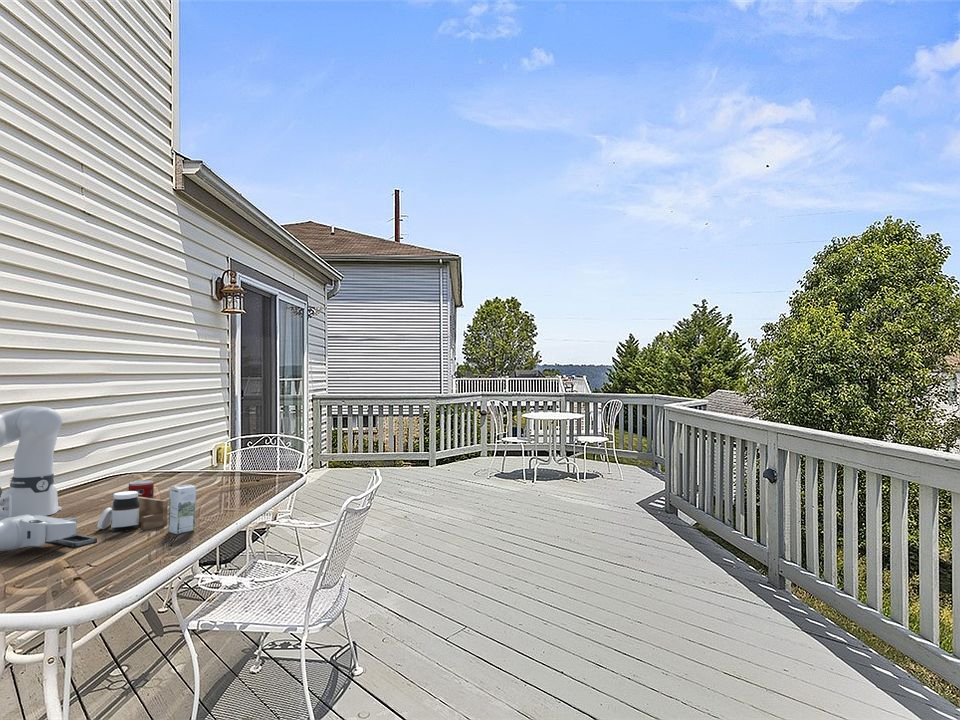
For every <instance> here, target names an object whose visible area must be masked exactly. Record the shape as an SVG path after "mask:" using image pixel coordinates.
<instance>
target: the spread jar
mask: <svg viewBox="0 0 960 720" xmlns="http://www.w3.org/2000/svg"><path fill="white" fill-rule="evenodd" d="M111 503H112V504H111V507H107V508H105V509H104V510H103V511H102V513H101V514H100V517H99V519H98V521H97V528H98V529H100V530H105V529H106V528H107V527H108V526H109V525H110V529H111V531H112V532H116V533H118V532H121V533H122V532H127V531H128V532H129V531H132V530H137V528H139V525H140V522H139V499H138V492H137V491H128V490H126V491H119V492H115V493H113V501H112V502H111Z"/></svg>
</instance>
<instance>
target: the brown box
mask: <svg viewBox="0 0 960 720" xmlns="http://www.w3.org/2000/svg"><path fill="white" fill-rule="evenodd" d="M138 499H139V523H140V522H141V527H140V530H142V531H146V530H150V529H153V528H154V529H155V528H158V527H163V526H166V525H168V506H169V505H168V502H169V501H168V499H167V500H166V499H159V498H154V497H153V498H146V497H138Z"/></svg>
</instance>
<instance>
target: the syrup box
mask: <svg viewBox="0 0 960 720" xmlns="http://www.w3.org/2000/svg"><path fill="white" fill-rule="evenodd" d="M196 499H197V487H196V486H195V485H193V484H183V485H175V486H171V487H169V501H168V502H169V505H168V526H167V527H168V533H172V534H173V535H174V534H175V535H181V534H185V533H190V532H194V531H195V528H196V527H195V525H196V522H195V521H196V502H197V500H196Z"/></svg>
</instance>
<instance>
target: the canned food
mask: <svg viewBox="0 0 960 720" xmlns="http://www.w3.org/2000/svg"><path fill="white" fill-rule="evenodd" d="M154 483H155V482H154V480H150V479H149V480H148V479H147V480H145V479H143V480H134V481H131V482H128V490H127V491H137V492H138V497H146V498H153V499H154V492H155V491H154V489H155V485H154Z"/></svg>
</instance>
